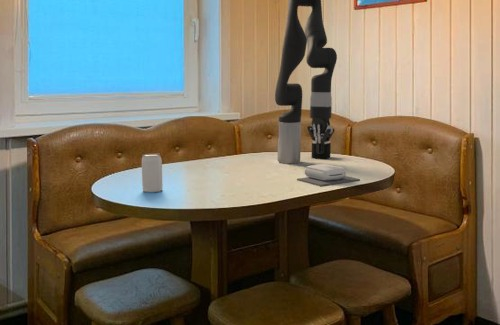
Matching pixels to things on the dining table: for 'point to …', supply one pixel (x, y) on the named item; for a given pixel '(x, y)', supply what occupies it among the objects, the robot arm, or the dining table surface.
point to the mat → (324, 183)
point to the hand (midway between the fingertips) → (320, 153)
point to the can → (152, 172)
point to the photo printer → (325, 172)
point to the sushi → (324, 155)
